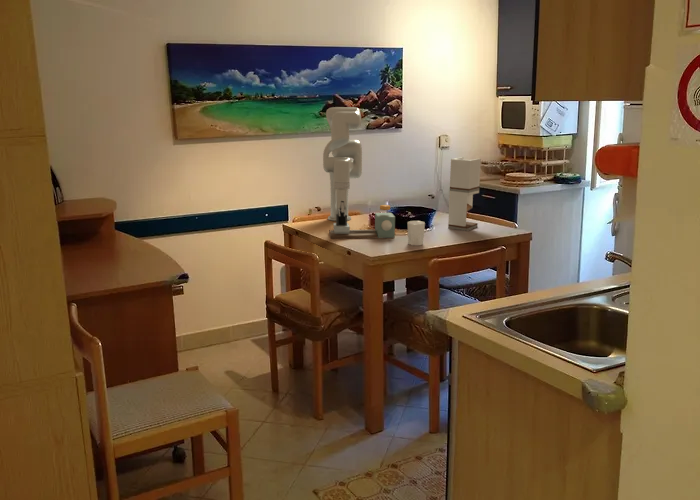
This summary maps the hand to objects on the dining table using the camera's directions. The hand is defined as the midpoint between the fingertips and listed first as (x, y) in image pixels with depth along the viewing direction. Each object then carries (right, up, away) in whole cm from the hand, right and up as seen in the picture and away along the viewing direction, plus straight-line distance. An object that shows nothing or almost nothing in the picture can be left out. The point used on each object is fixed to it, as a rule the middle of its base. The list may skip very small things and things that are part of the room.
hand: (341, 223), depth 317 cm
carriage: (0, -4, +1) cm, 4 cm away
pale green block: (+21, -6, +4) cm, 22 cm away
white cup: (+34, -10, -14) cm, 38 cm away
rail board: (+5, -6, +2) cm, 8 cm away
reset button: (+21, +7, 0) cm, 22 cm away
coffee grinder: (+62, -2, +21) cm, 65 cm away
